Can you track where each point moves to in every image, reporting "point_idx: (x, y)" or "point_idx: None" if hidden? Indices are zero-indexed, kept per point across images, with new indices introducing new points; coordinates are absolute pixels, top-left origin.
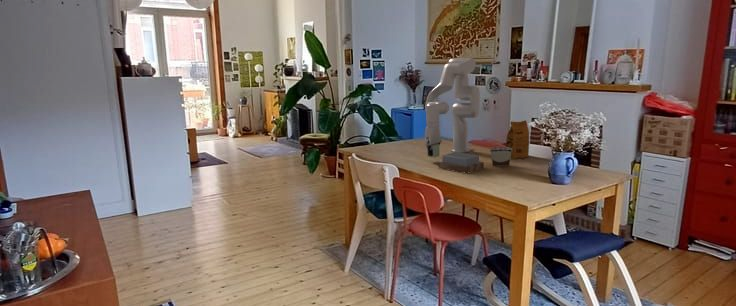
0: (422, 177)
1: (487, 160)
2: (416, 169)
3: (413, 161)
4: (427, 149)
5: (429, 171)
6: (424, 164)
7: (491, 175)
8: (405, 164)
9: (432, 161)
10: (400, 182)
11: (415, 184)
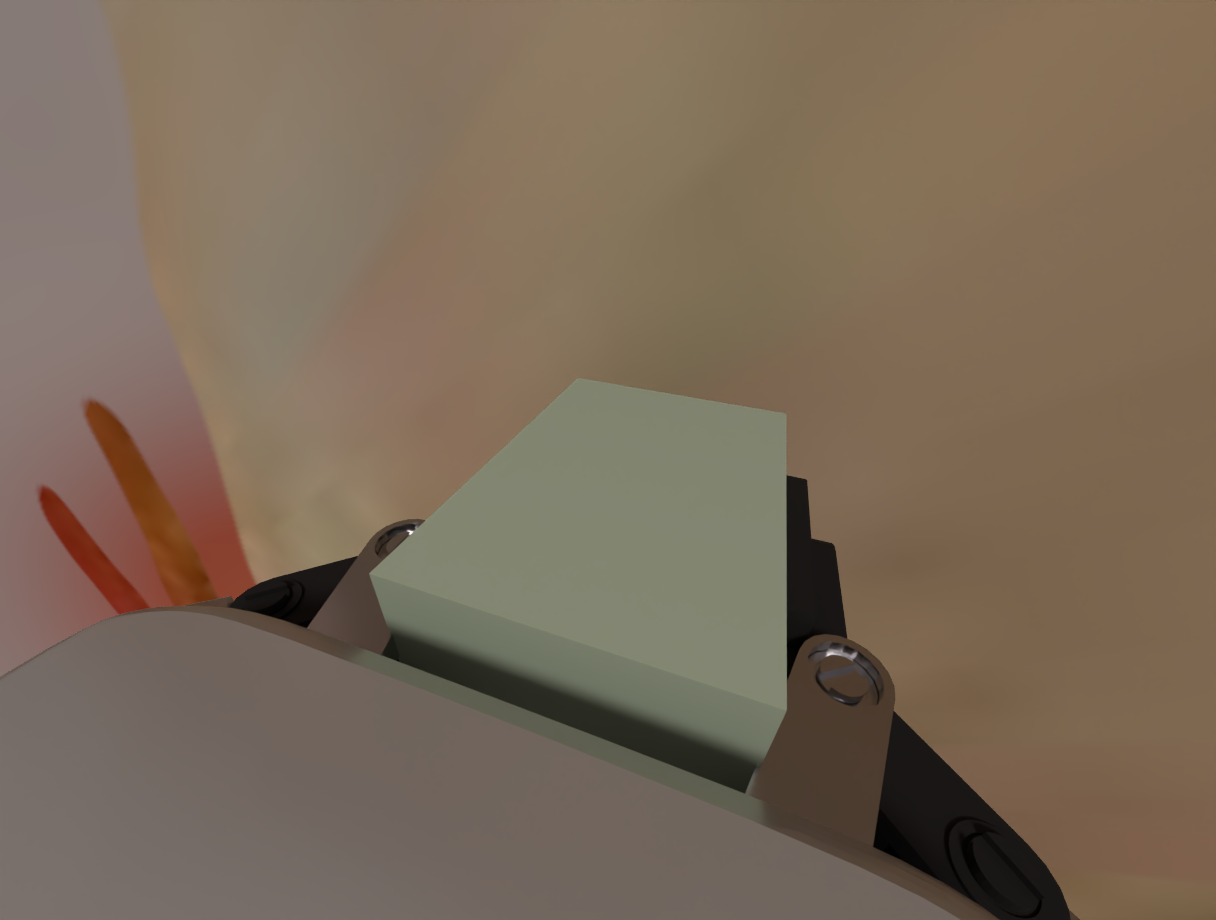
0: (201, 575)
1: (1079, 915)
2: (250, 429)
3: (475, 3)
4: (485, 468)
5: (319, 562)
6: (459, 385)
7: None
8: (222, 82)
9: (705, 391)
10: (41, 505)
11: (120, 589)
